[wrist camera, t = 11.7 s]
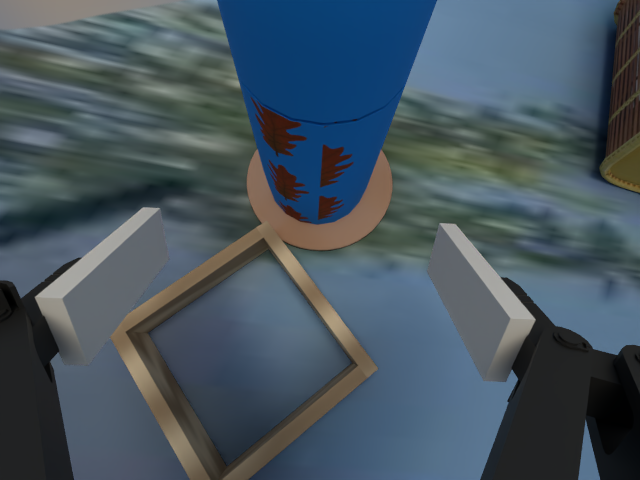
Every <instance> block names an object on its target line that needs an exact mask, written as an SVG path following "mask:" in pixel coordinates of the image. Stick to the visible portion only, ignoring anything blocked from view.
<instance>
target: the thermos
mask: <svg viewBox="0 0 640 480" xmlns="http://www.w3.org/2000/svg"><path fill="white" fill-rule="evenodd" d="M217 1H218V5H219V9H220V12H221V16H222V20H223V24H224V27H225V31H226V35H227V38H228V42H229V46H230V49H231V53H232V57H233V60H234V64H235V68H236V71H237V75H238V79H239V82H240V86H241V90H242V93H243V97H244V101H245V104H246V108H247V112H248V115H249V119H250V123H251V126H252V130H253V134H254V138H255V141H256V145H257V149H258V152H259V156H260V160H261V163H262V167H263V170H264V173H265V176H266V179H267V182H268V185H269V187H270V190H271V192H272V195H273V197H274V200H275V202H276V203H277V204H278V205H279V207H280V208H281V209H282V210H283V211H284V212H285V213H286V214H287V215H289V216H291V217H293V218H294V219H296V220H298V221H300V222H304V223H310V224H316V225H319V224H325V223H332V222H335V221H337V220H339V219H341V218H343V217H345V216H346V215H348V214H349V213H350V212H351V211H352V210H353V209H354V208H355V207H356V205H357V204H358V203H359V202H360V200H361V198H362V196H363V194H364V192H365V190H366V188H367V186H368V183H369V180H370V178H371V175H372V172H373V170H374V167H375V164H376V162H377V159H378V156H379V154H380V151H381V148H382V146H383V143H384V140H385V138H386V135H387V132H388V130H389V127H390V124H391V122H392V119H393V116H394V114H395V111H396V108H397V106H398V103H399V100H400V98H401V95H402V92H403V90H404V87H405V84H406V82H407V79H408V76H409V74H410V71H411V68H412V66H413V63H414V60H415V58H416V55H417V52H418V50H419V47H420V44H421V42H422V39H423V36H424V33H425V31H426V28H427V25H428V23H429V20H430V17H431V15H432V12H433V9H434V7H435V4H436V1H437V0H217Z"/></svg>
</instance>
